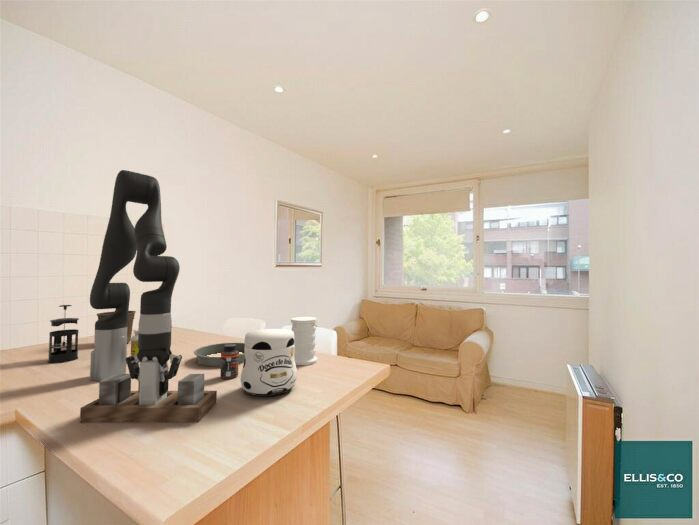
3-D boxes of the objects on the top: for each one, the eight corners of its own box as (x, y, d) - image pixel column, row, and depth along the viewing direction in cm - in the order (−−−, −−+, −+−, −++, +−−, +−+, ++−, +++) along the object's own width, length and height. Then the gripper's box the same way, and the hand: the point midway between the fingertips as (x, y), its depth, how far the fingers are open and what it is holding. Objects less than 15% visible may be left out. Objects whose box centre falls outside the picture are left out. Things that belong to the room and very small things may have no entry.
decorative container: (313, 356, 137) (313, 316, 138) (320, 364, 126) (320, 319, 127) (287, 359, 133) (287, 317, 134) (292, 366, 122) (292, 321, 123)
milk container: (277, 404, 87) (278, 340, 88) (228, 395, 93) (229, 336, 94) (306, 384, 104) (306, 330, 104) (263, 377, 110) (263, 326, 110)
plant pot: (86, 346, 152) (87, 314, 152) (116, 339, 168) (117, 310, 168) (115, 348, 149) (116, 315, 149) (142, 341, 165) (143, 310, 165)
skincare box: (150, 399, 85) (152, 356, 85) (167, 399, 85) (168, 356, 86) (137, 409, 79) (139, 362, 79) (155, 409, 79) (156, 362, 80)
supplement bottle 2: (232, 380, 107) (232, 347, 107) (216, 379, 108) (217, 346, 108) (241, 374, 112) (242, 343, 113) (226, 373, 114) (227, 342, 114)
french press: (83, 358, 131) (85, 304, 132) (55, 364, 123) (57, 306, 123) (69, 355, 136) (71, 303, 137) (41, 360, 128) (43, 305, 128)
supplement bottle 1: (129, 359, 130) (130, 329, 131) (147, 356, 135) (148, 327, 135) (131, 363, 125) (132, 331, 126) (150, 360, 130) (151, 329, 130)
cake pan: (186, 370, 118) (186, 358, 118) (201, 353, 142) (201, 343, 142) (253, 366, 124) (253, 354, 124) (256, 350, 148) (256, 341, 148)
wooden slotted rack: (79, 422, 76) (81, 384, 76) (112, 403, 87) (114, 370, 87) (198, 422, 77) (199, 384, 77) (216, 403, 88) (217, 370, 88)
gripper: (118, 332, 79) (115, 400, 78) (174, 332, 79) (172, 400, 79) (137, 327, 86) (135, 389, 86) (189, 327, 87) (187, 389, 86)
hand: (153, 394), depth 82 cm, fingers closed on skincare box, 4 cm apart
